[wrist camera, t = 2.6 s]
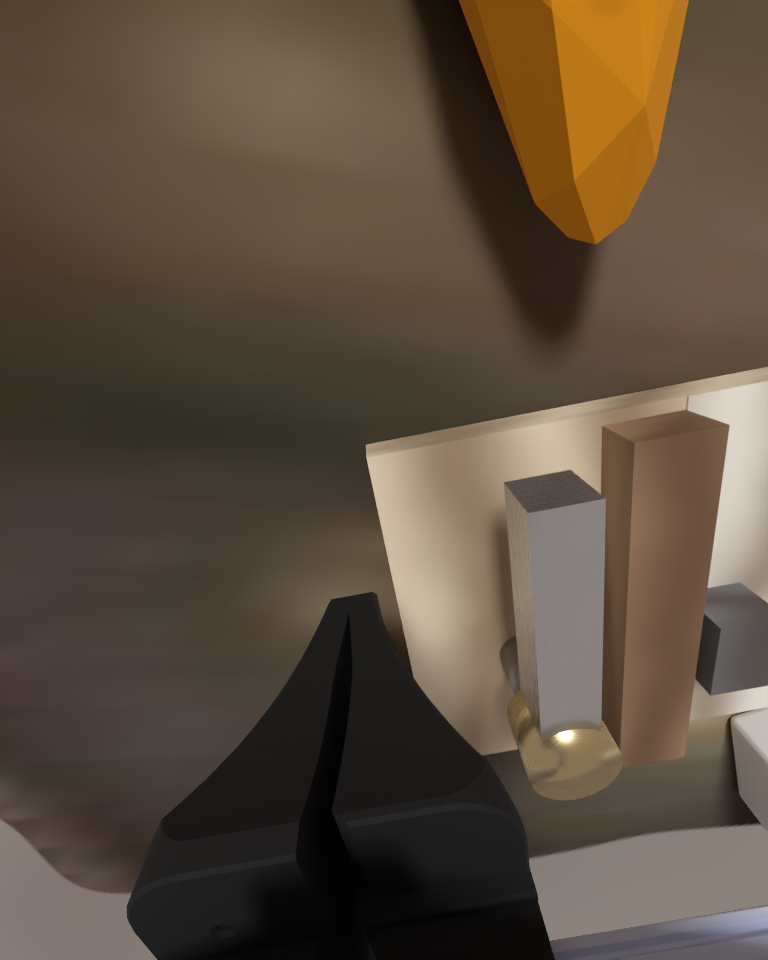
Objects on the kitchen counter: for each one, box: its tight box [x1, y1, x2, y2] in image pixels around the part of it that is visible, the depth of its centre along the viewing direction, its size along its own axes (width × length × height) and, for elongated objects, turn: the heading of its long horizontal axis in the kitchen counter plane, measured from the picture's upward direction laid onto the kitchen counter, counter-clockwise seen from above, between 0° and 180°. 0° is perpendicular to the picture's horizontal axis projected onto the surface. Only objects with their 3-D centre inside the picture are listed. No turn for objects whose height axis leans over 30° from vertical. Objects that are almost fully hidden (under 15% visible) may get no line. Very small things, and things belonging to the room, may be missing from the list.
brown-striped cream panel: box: [366, 367, 768, 768], centre depth 18 cm, size 19×17×4 cm
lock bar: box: [504, 470, 623, 800], centre depth 14 cm, size 12×3×2 cm, turn 11°
